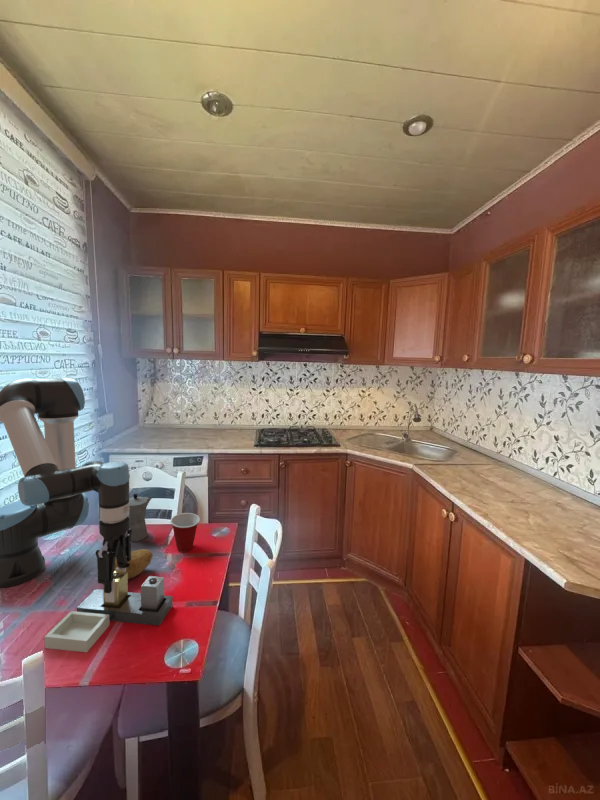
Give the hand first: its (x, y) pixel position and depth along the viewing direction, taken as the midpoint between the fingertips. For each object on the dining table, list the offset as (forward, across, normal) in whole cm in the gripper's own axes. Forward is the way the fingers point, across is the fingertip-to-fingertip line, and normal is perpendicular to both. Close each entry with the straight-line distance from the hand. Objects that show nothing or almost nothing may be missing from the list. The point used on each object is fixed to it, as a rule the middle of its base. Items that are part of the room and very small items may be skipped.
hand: (115, 594), depth 100 cm
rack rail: (+5, 0, -3) cm, 6 cm away
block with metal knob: (+4, 0, 0) cm, 4 cm away
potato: (+5, +16, +5) cm, 17 cm away
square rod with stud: (+5, 0, -11) cm, 12 cm away
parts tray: (+5, -10, +4) cm, 12 cm away
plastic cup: (+5, +35, -6) cm, 36 cm away
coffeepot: (+5, +40, +18) cm, 44 cm away
